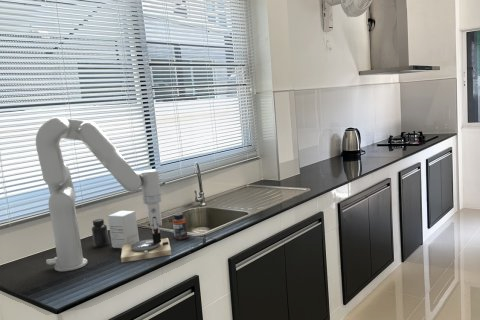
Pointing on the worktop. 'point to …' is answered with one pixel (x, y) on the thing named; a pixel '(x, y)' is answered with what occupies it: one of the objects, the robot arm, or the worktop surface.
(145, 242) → the dial
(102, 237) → the supplement bottle
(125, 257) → the board
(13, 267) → the worktop surface
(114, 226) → the supplement box
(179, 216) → the supplement bottle
